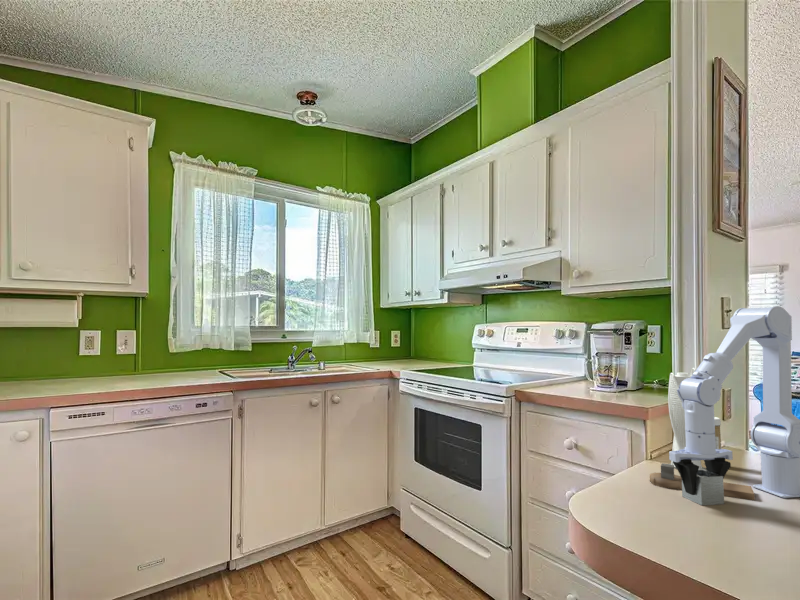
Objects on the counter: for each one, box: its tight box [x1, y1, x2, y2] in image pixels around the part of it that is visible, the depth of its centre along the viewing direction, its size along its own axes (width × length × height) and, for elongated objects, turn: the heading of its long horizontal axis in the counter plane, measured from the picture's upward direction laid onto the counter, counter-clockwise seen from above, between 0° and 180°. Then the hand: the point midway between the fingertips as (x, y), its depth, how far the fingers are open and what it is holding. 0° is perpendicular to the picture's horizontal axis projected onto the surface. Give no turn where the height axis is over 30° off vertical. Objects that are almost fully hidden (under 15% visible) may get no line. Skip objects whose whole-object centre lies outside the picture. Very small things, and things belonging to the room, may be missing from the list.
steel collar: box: [681, 469, 725, 506], centre depth 104 cm, size 6×6×6 cm
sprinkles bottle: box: [703, 416, 723, 465], centre depth 132 cm, size 5×5×14 cm
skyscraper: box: [667, 367, 707, 470], centre depth 129 cm, size 8×8×28 cm
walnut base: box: [649, 463, 756, 501], centre depth 112 cm, size 21×8×4 cm, turn 59°
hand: (702, 492), depth 104 cm, fingers closed on steel collar, 6 cm apart
